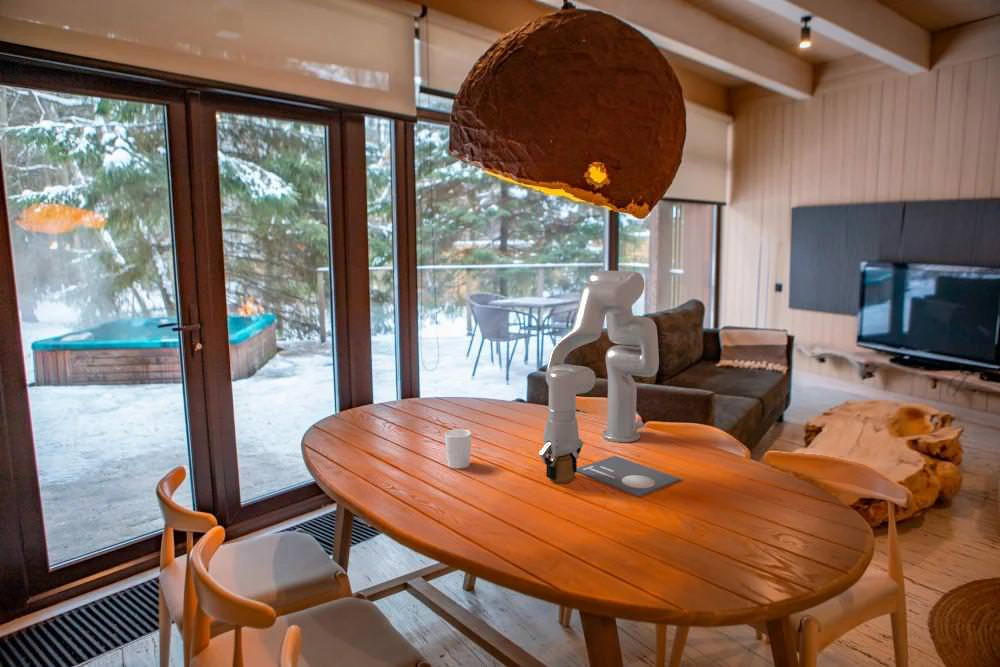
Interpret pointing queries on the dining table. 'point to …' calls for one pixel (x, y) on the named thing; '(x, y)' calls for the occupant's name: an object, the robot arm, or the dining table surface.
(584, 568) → the dining table surface
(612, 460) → the slate board
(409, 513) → the dining table surface
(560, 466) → the ornamental finial
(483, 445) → the dining table surface
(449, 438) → the white cup
